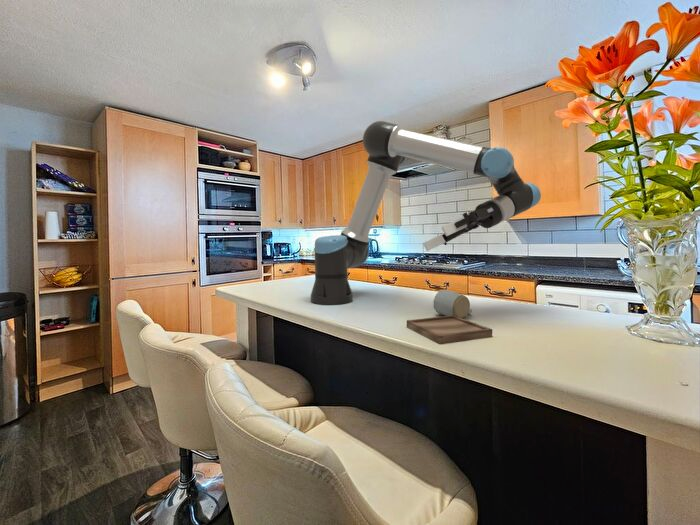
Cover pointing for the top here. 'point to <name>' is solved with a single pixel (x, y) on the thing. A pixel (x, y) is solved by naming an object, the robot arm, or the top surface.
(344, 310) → the top surface
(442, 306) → the ceramic mug
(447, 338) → the walnut board
